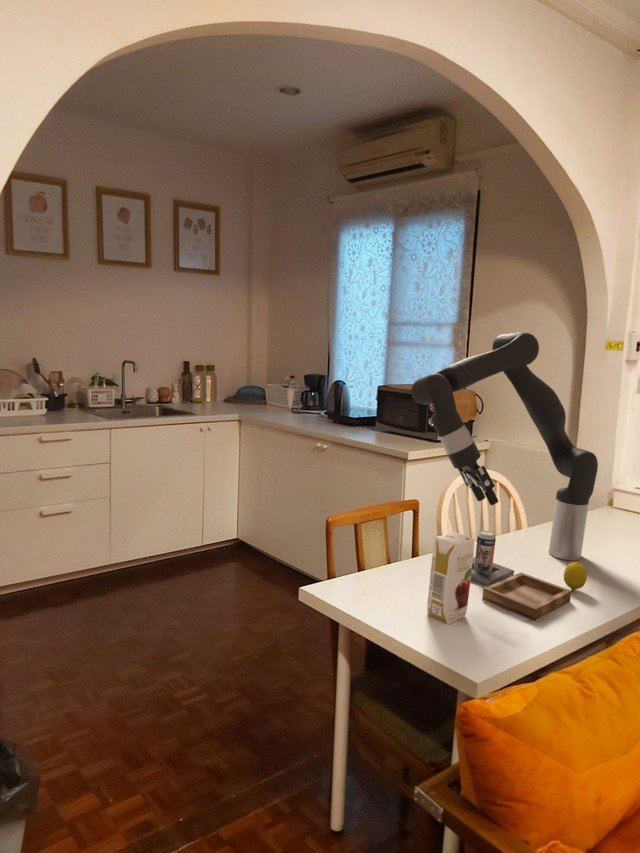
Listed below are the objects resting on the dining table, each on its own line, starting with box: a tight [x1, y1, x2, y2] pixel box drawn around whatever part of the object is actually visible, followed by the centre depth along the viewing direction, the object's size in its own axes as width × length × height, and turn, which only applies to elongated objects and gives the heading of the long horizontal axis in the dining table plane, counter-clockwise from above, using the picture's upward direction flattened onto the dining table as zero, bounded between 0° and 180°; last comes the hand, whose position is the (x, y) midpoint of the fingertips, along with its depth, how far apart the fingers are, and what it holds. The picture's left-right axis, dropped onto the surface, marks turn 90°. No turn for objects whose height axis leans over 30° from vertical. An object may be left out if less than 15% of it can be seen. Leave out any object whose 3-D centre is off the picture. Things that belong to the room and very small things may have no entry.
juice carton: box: [426, 531, 475, 625], centre depth 143 cm, size 8×9×19 cm
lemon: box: [563, 560, 588, 591], centre depth 164 cm, size 6×6×8 cm
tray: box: [481, 572, 573, 622], centre depth 155 cm, size 18×14×3 cm
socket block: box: [470, 556, 515, 587], centre depth 170 cm, size 12×12×2 cm
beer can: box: [474, 530, 497, 575], centre depth 170 cm, size 5×5×12 cm
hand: (488, 501), depth 160 cm, fingers open, 8 cm apart
